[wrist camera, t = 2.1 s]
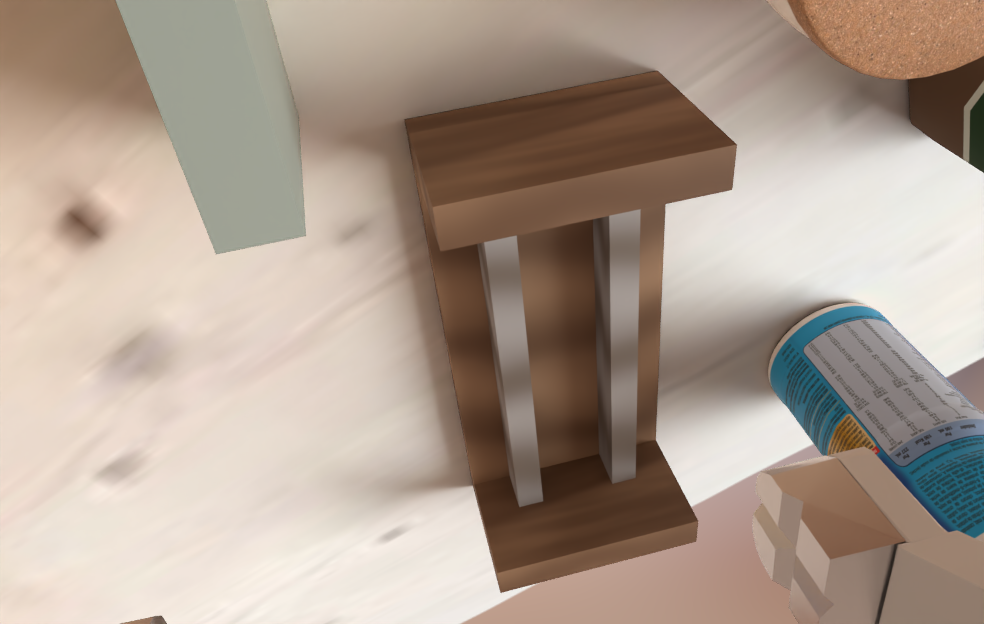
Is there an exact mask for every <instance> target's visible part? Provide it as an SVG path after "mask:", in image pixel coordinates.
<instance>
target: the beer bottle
mask: <svg viewBox="0 0 984 624" xmlns="http://www.w3.org/2000/svg"><path fill="white" fill-rule="evenodd" d="M908 82H909V108H910V120H911V124H913V125H914V126H915V127H917V128H918V129H919V130H921V131H922V132H923V133H924V134H926V135H927V136H928V137H930V138H931V139H932V140H934V141H935V142H937V143H938V144H940V145H942V146H943V147H945V148H946V149H948V150H949V151H951V152H952V153H954V154H956V155H957V156H959V157H960V158H962V159H963V160H965V161H966V162H968V163H969V164H971V165H973V166H974V167H976V168H977V169H979V170H980V171H982V172H983V173H984V56H983V57H981V58H979V59H977V60H974V61H972V62H970V63H967V64H965V65H963V66H961V67H958V68H956V69H953V70H950V71H946V72H943V73H939V74H935V75H932V76H928V77H922V78H913V79H908Z"/></svg>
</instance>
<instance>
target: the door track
mask: <svg viewBox="0 0 984 624" xmlns="http://www.w3.org/2000/svg"><path fill="white" fill-rule="evenodd" d="M405 125H406V130H407V136H408V141H409V146H410V152H411V157H412V162H413V168H414V173H415V179H416V184H417V189H418V195H419V200H420V205H421V211H422V216H423V221H424V227H425V232H426V237H427V243H428V248H429V253H430V259H431V264H432V269H433V275H434V280H435V285H436V291H437V296H438V301H439V307H440V312H441V317H442V323H443V328H444V333H445V339H446V344H447V349H448V355H449V360H450V365H451V371H452V376H453V381H454V387H455V392H456V397H457V403H458V408H459V413H460V419H461V424H462V429H463V435H464V440H465V445H466V451H467V456H468V461H469V467H470V472H471V477H472V483H473V488H474V491H475V495H476V499H477V503H478V507H479V511H480V515H481V519H482V522H483V526H484V530H485V534H486V538H487V542H488V546H489V550H490V554H491V557H492V561H493V565H494V569H495V573H496V577H497V581H498V585H499V588H500V592H501V593H502V592H505V591H509V590H513V589H517V588H521V587H525V586H528V585H532V584H536V583H540V582H544V581H547V580H551V579H555V578H559V577H563V576H567V575H570V574H574V573H578V572H582V571H586V570H589V569H593V568H597V567H601V566H605V565H609V564H612V563H616V562H620V561H623V560H628V559H631V558H635V557H639V556H643V555H647V554H650V553H654V552H658V551H662V550H666V549H670V548H673V547H677V546H681V545H685V544H689V543H692V542H696V538H697V527H698V520H697V518H696V516H695V514H694V512H693V510H692V508H691V506H690V505H689V503H688V501H687V499H686V497H685V495H684V493H683V491H682V489H681V487H680V485H679V484H678V482H677V480H676V478H675V476H674V474H673V472H672V470H671V468H670V466H669V465H668V463H667V461H666V459H665V457H664V455H663V453H662V451H661V449H660V447H659V446H658V444H657V442H656V419H657V395H658V370H659V346H660V322H661V298H662V274H663V250H664V225H665V204H667V203H672V202H677V201H681V200H686V199H691V198H696V197H700V196H705V195H710V194H714V193H719V192H724V191H729V190H732V187H733V177H734V167H735V157H736V148H737V144H736V143H735V142H734V141H732V140H731V139H730V138H729V137H728V136H727V135H726V134H725V133H724V132H723V131H722V130H721V129H720V128H719V127H717V126H716V125H715V124H714V123H713V122H712V121H711V120H710V119H709V118H708V117H707V116H706V115H705V114H703V113H702V112H701V111H700V110H699V109H698V108H697V107H696V106H695V105H694V104H693V103H692V102H691V101H690V100H688V99H687V98H686V97H685V96H684V95H683V94H682V93H681V92H680V91H679V90H678V89H677V88H676V87H674V86H673V85H672V84H671V83H670V82H669V81H668V80H667V79H666V78H665V77H664V76H663V75H662V74H661V73H659V72H658V71H654V72H649V73H644V74H639V75H634V76H629V77H623V78H618V79H613V80H608V81H603V82H597V83H592V84H587V85H582V86H577V87H571V88H566V89H561V90H556V91H551V92H546V93H540V94H535V95H530V96H525V97H520V98H514V99H509V100H504V101H499V102H494V103H489V104H483V105H478V106H473V107H468V108H463V109H457V110H452V111H447V112H442V113H437V114H431V115H426V116H421V117H416V118H411V119H406V120H405Z"/></svg>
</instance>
